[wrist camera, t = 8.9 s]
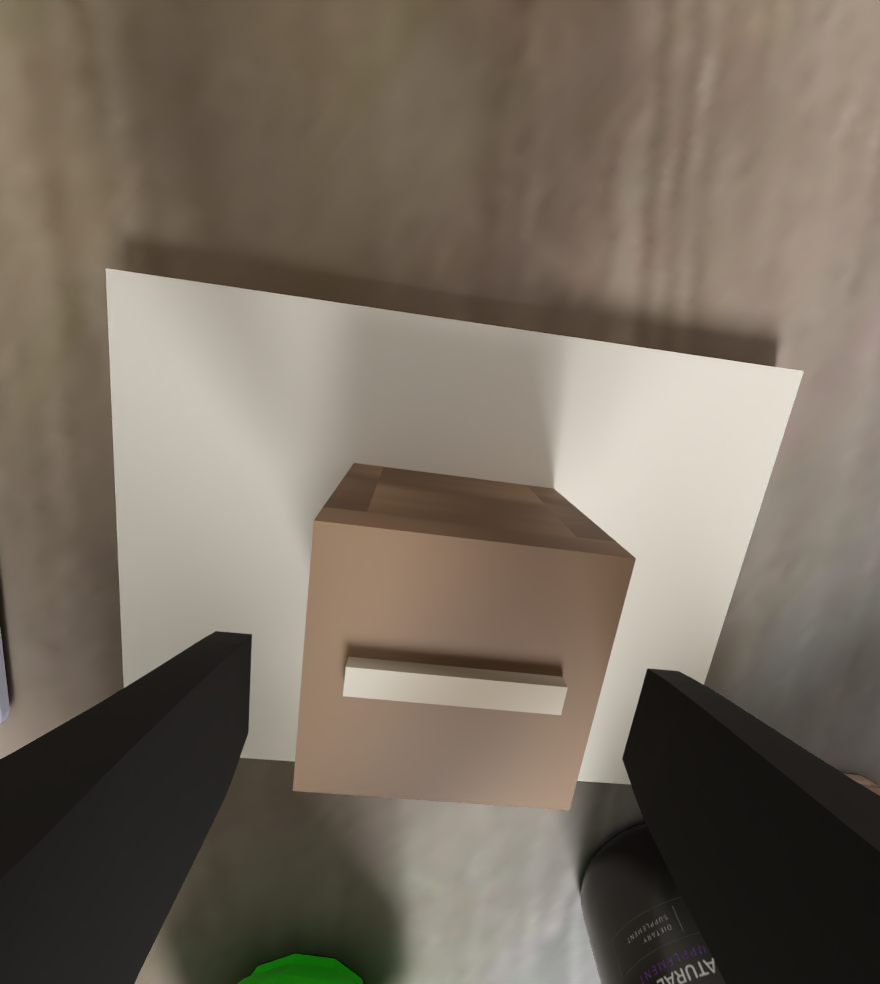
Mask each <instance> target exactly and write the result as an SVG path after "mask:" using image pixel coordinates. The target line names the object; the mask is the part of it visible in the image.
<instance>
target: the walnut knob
mask: <svg viewBox="0 0 880 984" xmlns="http://www.w3.org/2000/svg"><path fill="white" fill-rule="evenodd" d="M635 560H636V558H635V557H634V556H633V555H631V554H630V553H629V552H628V551H627V550H626V549H624V548H623V547H622V546H621V545H620V544H619V543H617V542H616V541H615V540H614V539H613V538H611V537H610V536H609V535H608V534H607V533H606V532H604V531H603V530H602V529H601V528H600V527H599V526H597V525H596V524H595V523H594V522H593V521H592V520H590V519H589V518H588V517H587V516H586V515H584V514H583V513H582V512H581V511H580V510H579V509H577V508H576V507H575V506H574V505H573V504H572V503H570V502H569V501H568V500H567V499H566V498H565V497H563V496H562V495H561V494H560V493H559V492H557V491H556V490H555V489H553V488H546V487H538V486H530V485H522V484H515V483H507V482H499V481H491V480H483V479H476V478H468V477H460V476H452V475H445V474H437V473H429V472H421V471H414V470H406V469H398V468H390V467H382V466H375V465H367V464H359V463H354V464H353V465H352V466H351V468H350V469H349V471H348V472H347V474H346V475H345V476H344V478H343V479H342V481H341V482H340V484H339V485H338V486H337V488H336V489H335V491H334V492H333V493H332V495H331V496H330V498H329V499H328V501H327V502H326V503H325V505H324V506H323V508H322V509H321V511H320V512H319V513H318V515H317V516H316V518H315V519H314V521H313V534H312V547H311V560H310V573H309V586H308V599H307V612H306V625H305V638H304V651H303V664H302V677H301V690H300V703H299V715H298V728H297V741H296V754H295V767H294V780H293V791H301V792H315V793H329V794H344V795H358V796H372V797H386V798H401V799H415V800H429V801H443V802H458V803H472V804H486V805H501V806H515V807H529V808H543V809H558V810H570V806H571V802H572V798H573V795H574V791H575V787H576V783H577V780H578V776H579V772H580V768H581V764H582V761H583V757H584V753H585V749H586V746H587V742H588V738H589V734H590V730H591V727H592V723H593V719H594V715H595V712H596V708H597V704H598V700H599V696H600V693H601V689H602V685H603V681H604V677H605V674H606V670H607V666H608V662H609V659H610V655H611V651H612V647H613V643H614V640H615V636H616V632H617V628H618V625H619V621H620V617H621V613H622V609H623V606H624V602H625V598H626V594H627V591H628V587H629V583H630V579H631V575H632V572H633V568H634V564H635Z"/></svg>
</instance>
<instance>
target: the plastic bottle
mask: <svg viewBox="0 0 880 984" xmlns="http://www.w3.org/2000/svg"><path fill="white" fill-rule="evenodd" d="M237 984H363V981H362V979H361V978H360V977H359V976H358V975H356V974H355V973H354V972H352V971H351V970H350V969H348V968H347V967H346V966H344V965H343V964H342V963H340V962H339V961H338V960H336V959H334V958H326V957H318V956H310V955H302V954H292V955H289V956H286V957H283V958H280V959H277V960H274V961H271V962H268V963H265V964H262V965H259V966H257V967H256V969H255V970H254V971H253V973H252V974H251V976H249V977H246V978H244V979H243V980H241V981H240V982H239V983H237Z"/></svg>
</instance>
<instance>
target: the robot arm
mask: <svg viewBox="0 0 880 984" xmlns="http://www.w3.org/2000/svg"><path fill="white" fill-rule="evenodd" d="M251 648H252V634H244V633H232V632H220V631H215V632H214V633H212V634H210V635H208V636H206V637H205V638H203V639H201V640H200V641H198V642H197V643H195V644H193V645H192V646H190V647H189V648H187V649H185V650H184V651H182V652H181V653H179V654H178V655H176V656H174V657H173V658H171V659H170V660H168V661H167V662H165V663H163V664H162V665H160V666H159V667H157V668H156V669H154V670H152V671H151V672H149V673H148V674H146V675H144V676H143V677H141V678H139V679H138V680H136V681H135V682H133V683H131V684H130V685H128V686H127V687H125V688H123V689H122V690H120V691H118V692H117V693H115V694H114V695H112V696H110V697H109V698H107V699H106V700H104V701H102V702H101V703H99V704H97V705H96V706H94V707H92V708H90V709H89V710H87V711H85V712H83V713H82V714H80V715H78V716H76V717H75V718H73V719H71V720H69V721H68V722H66V723H64V724H62V725H61V726H59V727H57V728H55V729H54V730H52V731H50V732H48V733H47V734H45V735H43V736H41V737H40V738H38V739H36V740H34V741H33V742H31V743H29V744H27V745H26V746H24V747H22V748H20V749H19V750H17V751H15V752H13V753H11V754H10V755H8V756H6V757H4V758H2V759H0V984H134V983H135V981H136V979H137V976H138V974H139V972H140V970H141V968H142V966H143V964H144V962H145V960H146V958H147V955H148V953H149V951H150V949H151V947H152V945H153V943H154V941H155V939H156V937H157V935H158V933H159V931H160V929H161V927H162V925H163V923H164V921H165V919H166V917H167V915H168V913H169V911H170V909H171V907H172V905H173V903H174V901H175V899H176V896H177V894H178V892H179V890H180V888H181V886H182V884H183V882H184V880H185V878H186V876H187V874H188V872H189V870H190V868H191V866H192V864H193V862H194V860H195V858H196V856H197V854H198V852H199V850H200V848H201V846H202V844H203V841H204V839H205V837H206V835H207V833H208V831H209V829H210V827H211V825H212V823H213V821H214V819H215V817H216V815H217V813H218V810H219V808H220V806H221V804H222V802H223V800H224V798H225V796H226V793H227V791H228V788H229V785H230V783H231V780H232V777H233V775H234V772H235V769H236V767H237V764H238V761H239V758H240V755H241V753H242V750H243V747H244V744H245V741H246V738H247V736H248V731H249V703H250V675H251ZM9 712H10V707H9V698H8V690H7V681H6V672H5V664H4V655H3V647H2V638H1V629H0V723H1V722H2V721H4V720H5V719H6V718H7V717H8V715H9ZM622 760H623V763H624V766H625V768H626V771H627V774H628V777H629V780H630V783H631V786H632V789H633V792H634V794H635V797H636V799H637V802H638V805H639V807H640V810H641V813H642V815H643V818H644V820H645V822H646V824H647V826H648V828H649V831H650V833H651V835H652V837H653V839H654V841H655V843H656V845H657V847H658V849H659V851H660V853H661V855H662V857H663V859H664V861H665V863H666V865H667V867H668V869H669V871H670V873H671V875H672V877H673V879H674V881H675V883H676V885H677V887H678V889H679V891H680V893H681V895H682V897H683V899H684V901H685V903H686V905H687V907H688V909H689V911H690V913H691V915H692V917H693V919H694V921H695V923H696V925H697V927H698V929H699V931H700V933H701V935H702V937H703V939H704V941H705V943H706V945H707V947H708V949H709V951H710V953H711V955H712V957H713V959H714V961H715V963H716V965H717V967H718V969H719V971H720V973H721V975H722V977H723V979H724V981H725V983H726V984H880V796H879V795H878V794H876V793H874V792H873V791H871V790H869V789H868V788H866V787H864V786H863V785H861V784H859V783H858V782H856V781H854V780H853V779H851V778H850V777H848V776H846V775H845V774H843V773H842V772H840V771H838V770H837V769H835V768H833V767H832V766H830V765H829V764H827V763H825V762H824V761H822V760H821V759H819V758H818V757H816V756H814V755H813V754H811V753H810V752H808V751H807V750H805V749H803V748H802V747H800V746H799V745H797V744H796V743H794V742H793V741H791V740H789V739H788V738H786V737H785V736H783V735H782V734H780V733H779V732H777V731H775V730H774V729H772V728H771V727H769V726H768V725H766V724H765V723H763V722H762V721H760V720H758V719H757V718H755V717H754V716H752V715H751V714H749V713H748V712H746V711H744V710H743V709H741V708H740V707H738V706H737V705H735V704H734V703H732V702H730V701H729V700H727V699H726V698H724V697H723V696H721V695H719V694H718V693H716V692H714V691H713V690H711V689H710V688H708V687H706V686H705V685H703V684H701V683H700V682H698V681H696V680H694V679H693V678H691V677H689V676H687V675H685V674H683V673H681V672H679V671H673V670H661V669H649V668H647V671H646V675H645V678H644V682H643V686H642V689H641V693H640V696H639V700H638V704H637V707H636V711H635V714H634V718H633V721H632V725H631V729H630V732H629V736H628V739H627V743H626V746H625V750H624V754H623V757H622Z"/></svg>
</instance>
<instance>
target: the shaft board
mask: <svg viewBox="0 0 880 984" xmlns="http://www.w3.org/2000/svg"><path fill="white" fill-rule="evenodd" d="M106 287H107V311H108V334H109V357H110V380H111V404H112V427H113V450H114V473H115V497H116V520H117V543H118V566H119V590H120V613H121V636H122V659H123V683H124V688H125V687H127V686H128V685H130V684H131V683H133V682H135V681H136V680H138V679H139V678H141V677H143V676H144V675H146V674H148V673H149V672H151V671H152V670H154V669H156V668H157V667H159V666H160V665H162V664H163V663H165V662H167V661H168V660H170V659H171V658H173V657H174V656H176V655H178V654H179V653H181V652H182V651H184V650H185V649H187V648H189V647H190V646H192V645H193V644H195V643H197V642H198V641H200V640H201V639H203V638H205V637H206V636H208V635H210V634H212V633H214V632H215V631H220V632H232V633H244V634H252V648H251V675H250V703H249V731H248V736H247V738H246V741H245V744H244V747H243V750H242V753H241V755H240V758H251V759H265V760H280V761H294V762H295V754H296V741H297V728H298V715H299V703H300V690H301V677H302V664H303V651H304V638H305V625H306V612H307V599H308V586H309V573H310V560H311V547H312V534H313V521H314V519H315V518H316V516H317V515H318V513H319V512H320V511H321V509H322V508H323V506H324V505H325V503H326V502H327V501H328V499H329V498H330V496H331V495H332V493H333V492H334V491H335V489H336V488H337V486H338V485H339V484H340V482H341V481H342V479H343V478H344V476H345V475H346V474H347V472H348V471H349V469H350V468H351V466H352V465H353V464H354V463H359V464H367V465H375V466H382V467H390V468H398V469H406V470H414V471H421V472H429V473H437V474H445V475H452V476H460V477H468V478H476V479H483V480H491V481H499V482H507V483H515V484H522V485H530V486H538V487H546V488H553V489H555V490H556V491H557V492H559V493H560V494H561V495H562V496H563V497H565V498H566V499H567V500H568V501H569V502H570V503H572V504H573V505H574V506H575V507H576V508H577V509H579V510H580V511H581V512H582V513H583V514H584V515H586V516H587V517H588V518H589V519H590V520H592V521H593V522H594V523H595V524H596V525H597V526H599V527H600V528H601V529H602V530H603V531H604V532H606V533H607V534H608V535H609V536H610V537H611V538H613V539H614V540H615V541H616V542H617V543H619V544H620V545H621V546H622V547H623V548H624V549H626V550H627V551H628V552H629V553H630V554H631V555H633V556H634V557H635V558H636V560H635V564H634V568H633V572H632V575H631V579H630V583H629V587H628V591H627V594H626V598H625V602H624V606H623V609H622V613H621V617H620V621H619V625H618V628H617V632H616V636H615V640H614V643H613V647H612V651H611V655H610V659H609V662H608V666H607V670H606V674H605V677H604V681H603V685H602V689H601V693H600V696H599V700H598V704H597V708H596V712H595V715H594V719H593V723H592V727H591V730H590V734H589V738H588V742H587V746H586V749H585V753H584V757H583V761H582V764H581V768H580V772H579V776H578V780H577V781H586V782H601V783H616V784H630V785H631V783H630V780H629V777H628V774H627V771H626V768H625V766H624V763H623V760H622V757H623V754H624V750H625V746H626V743H627V739H628V736H629V732H630V729H631V725H632V721H633V718H634V714H635V711H636V707H637V704H638V700H639V696H640V693H641V689H642V686H643V682H644V678H645V675H646V671H647V668H649V669H661V670H673V671H679V672H681V673H683V674H685V675H687V676H689V677H691V678H693V679H694V680H696V681H698V682H700V683H701V684H703V685H704V683H705V680H706V677H707V674H708V670H709V667H710V664H711V661H712V658H713V655H714V652H715V648H716V645H717V642H718V639H719V636H720V633H721V630H722V626H723V623H724V620H725V617H726V614H727V611H728V608H729V604H730V601H731V598H732V595H733V592H734V589H735V586H736V582H737V579H738V576H739V573H740V570H741V567H742V564H743V560H744V557H745V554H746V551H747V548H748V545H749V542H750V538H751V535H752V532H753V529H754V526H755V523H756V520H757V516H758V513H759V510H760V507H761V504H762V501H763V498H764V494H765V491H766V488H767V485H768V482H769V479H770V476H771V472H772V469H773V466H774V463H775V460H776V457H777V454H778V450H779V447H780V444H781V441H782V438H783V435H784V432H785V428H786V425H787V422H788V419H789V416H790V413H791V410H792V406H793V403H794V400H795V397H796V394H797V391H798V388H799V384H800V381H801V378H802V375H803V372H804V371H799V370H792V369H785V368H778V367H772V366H765V365H758V364H751V363H744V362H738V361H731V360H724V359H717V358H710V357H704V356H697V355H690V354H683V353H677V352H670V351H663V350H656V349H649V348H643V347H636V346H629V345H622V344H616V343H609V342H602V341H595V340H588V339H582V338H575V337H568V336H561V335H555V334H548V333H541V332H534V331H527V330H521V329H514V328H507V327H500V326H494V325H487V324H480V323H473V322H466V321H460V320H453V319H446V318H439V317H433V316H426V315H419V314H412V313H405V312H399V311H392V310H385V309H378V308H372V307H365V306H358V305H351V304H344V303H338V302H331V301H324V300H317V299H310V298H304V297H297V296H290V295H283V294H277V293H270V292H263V291H256V290H249V289H243V288H236V287H229V286H222V285H216V284H209V283H202V282H195V281H188V280H182V279H175V278H168V277H161V276H155V275H148V274H141V273H134V272H127V271H121V270H114V269H107V268H106Z"/></svg>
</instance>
